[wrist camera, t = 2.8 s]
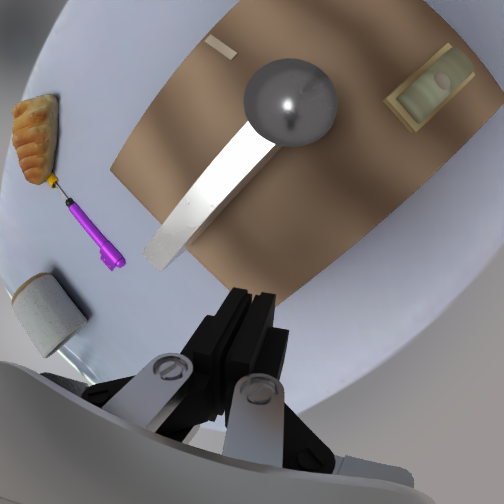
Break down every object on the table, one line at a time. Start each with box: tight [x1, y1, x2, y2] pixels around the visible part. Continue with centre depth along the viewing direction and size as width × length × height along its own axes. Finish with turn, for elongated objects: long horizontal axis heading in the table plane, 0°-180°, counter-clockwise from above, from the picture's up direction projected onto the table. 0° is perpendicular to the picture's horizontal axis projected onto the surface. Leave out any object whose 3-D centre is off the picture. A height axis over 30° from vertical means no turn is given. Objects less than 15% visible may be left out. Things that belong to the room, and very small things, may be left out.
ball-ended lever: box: [142, 58, 338, 272], centre depth 15 cm, size 14×4×4 cm, turn 137°
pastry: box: [12, 94, 59, 185], centre depth 21 cm, size 9×7×4 cm
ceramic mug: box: [12, 273, 87, 358], centre depth 28 cm, size 11×8×8 cm
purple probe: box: [47, 172, 125, 271], centre depth 25 cm, size 3×1×16 cm
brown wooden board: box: [110, 0, 504, 307], centre depth 15 cm, size 24×16×5 cm, turn 137°
